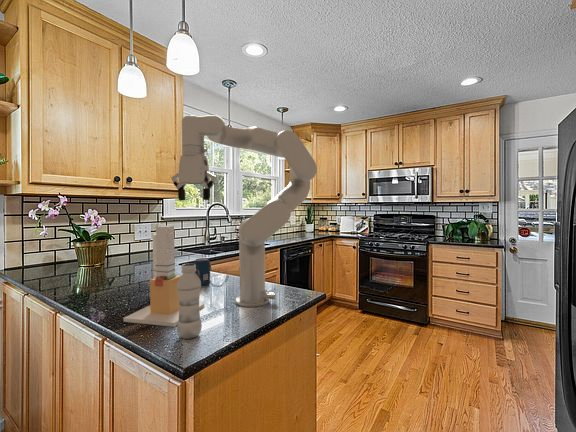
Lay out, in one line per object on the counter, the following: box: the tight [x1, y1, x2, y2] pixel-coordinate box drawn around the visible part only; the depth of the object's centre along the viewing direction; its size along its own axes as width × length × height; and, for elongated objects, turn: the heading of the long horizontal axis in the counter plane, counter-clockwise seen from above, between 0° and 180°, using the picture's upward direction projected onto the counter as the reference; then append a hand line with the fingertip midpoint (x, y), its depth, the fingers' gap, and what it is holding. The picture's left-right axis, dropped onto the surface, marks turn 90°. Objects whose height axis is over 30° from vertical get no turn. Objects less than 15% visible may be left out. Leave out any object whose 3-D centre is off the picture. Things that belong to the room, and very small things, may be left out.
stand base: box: [122, 275, 205, 328], centre depth 100 cm, size 18×18×13 cm
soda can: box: [193, 257, 211, 288], centre depth 136 cm, size 7×7×12 cm
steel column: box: [155, 225, 177, 280], centre depth 100 cm, size 4×4×22 cm
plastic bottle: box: [176, 263, 203, 340], centre depth 83 cm, size 6×7×20 cm
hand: (194, 200), depth 108 cm, fingers open, 9 cm apart
